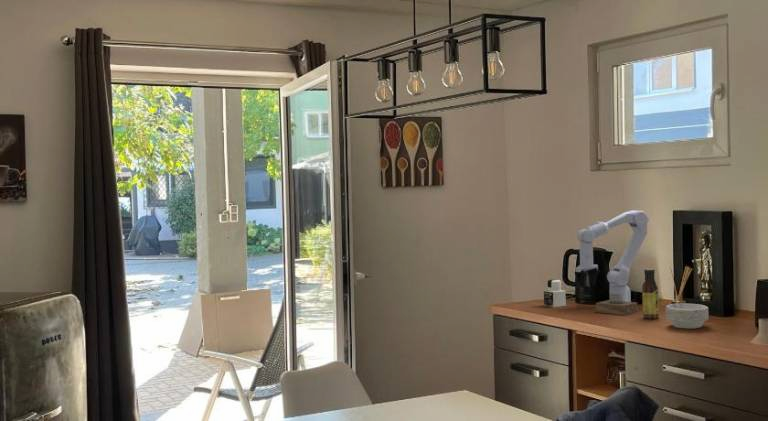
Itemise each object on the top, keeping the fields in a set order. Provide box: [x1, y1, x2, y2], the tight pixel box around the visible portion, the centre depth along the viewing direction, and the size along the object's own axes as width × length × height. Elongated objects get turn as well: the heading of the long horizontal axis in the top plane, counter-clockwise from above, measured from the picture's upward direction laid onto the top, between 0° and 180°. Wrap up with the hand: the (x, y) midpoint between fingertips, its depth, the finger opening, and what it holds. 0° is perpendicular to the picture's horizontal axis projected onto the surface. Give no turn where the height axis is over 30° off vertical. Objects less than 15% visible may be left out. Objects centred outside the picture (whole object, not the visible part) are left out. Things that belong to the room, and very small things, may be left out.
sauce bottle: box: [641, 268, 660, 319], centre depth 340 cm, size 6×6×20 cm
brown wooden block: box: [595, 299, 638, 316], centre depth 358 cm, size 10×14×4 cm
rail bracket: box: [608, 292, 622, 304], centre depth 358 cm, size 2×5×8 cm, turn 43°
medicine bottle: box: [543, 278, 567, 308], centre depth 381 cm, size 7×7×12 cm
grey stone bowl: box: [665, 303, 709, 330], centre depth 318 cm, size 15×15×8 cm
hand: (587, 286), depth 372 cm, fingers open, 7 cm apart
